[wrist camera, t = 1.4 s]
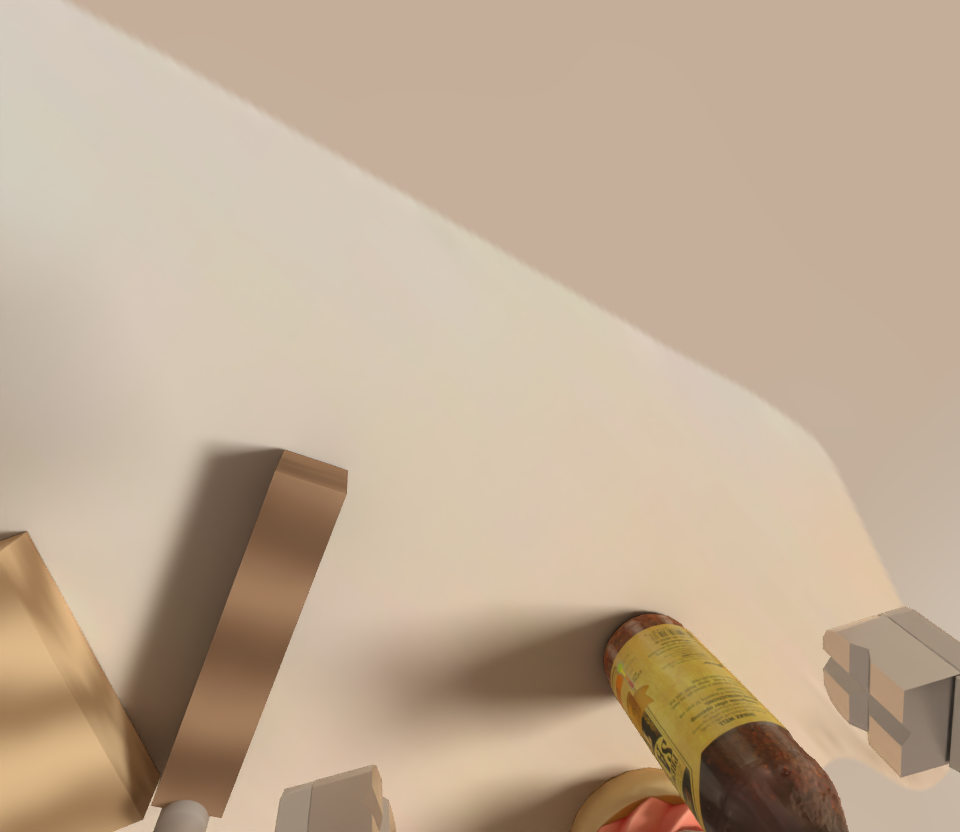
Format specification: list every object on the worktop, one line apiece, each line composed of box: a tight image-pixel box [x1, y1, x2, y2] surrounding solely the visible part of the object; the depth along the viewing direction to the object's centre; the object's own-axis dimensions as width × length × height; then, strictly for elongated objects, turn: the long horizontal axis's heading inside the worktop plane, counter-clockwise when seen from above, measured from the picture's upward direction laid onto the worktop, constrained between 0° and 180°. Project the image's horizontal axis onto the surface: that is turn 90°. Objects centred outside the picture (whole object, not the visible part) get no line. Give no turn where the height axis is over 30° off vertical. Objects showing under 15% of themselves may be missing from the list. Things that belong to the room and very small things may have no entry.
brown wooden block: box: [151, 450, 348, 832], centre depth 32 cm, size 20×4×5 cm, turn 158°
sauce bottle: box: [604, 613, 848, 832], centre depth 31 cm, size 7×6×20 cm
